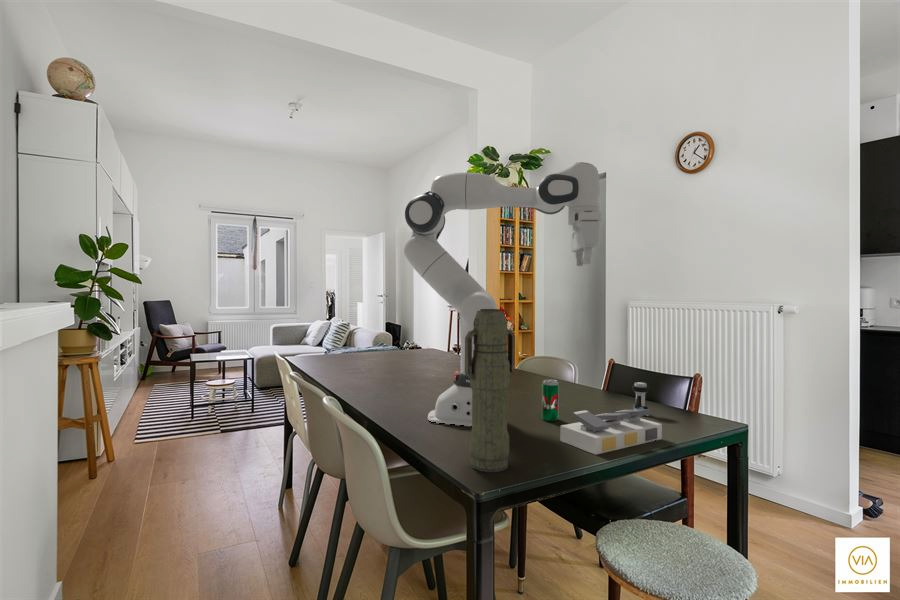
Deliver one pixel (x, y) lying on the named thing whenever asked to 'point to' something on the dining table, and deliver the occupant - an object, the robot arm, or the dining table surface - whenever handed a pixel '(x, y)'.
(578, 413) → the left rocker
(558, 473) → the dining table surface
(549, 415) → the soda can
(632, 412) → the right rocker
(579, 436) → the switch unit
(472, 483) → the dining table surface
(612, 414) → the middle rocker
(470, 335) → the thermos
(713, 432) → the dining table surface
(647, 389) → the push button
